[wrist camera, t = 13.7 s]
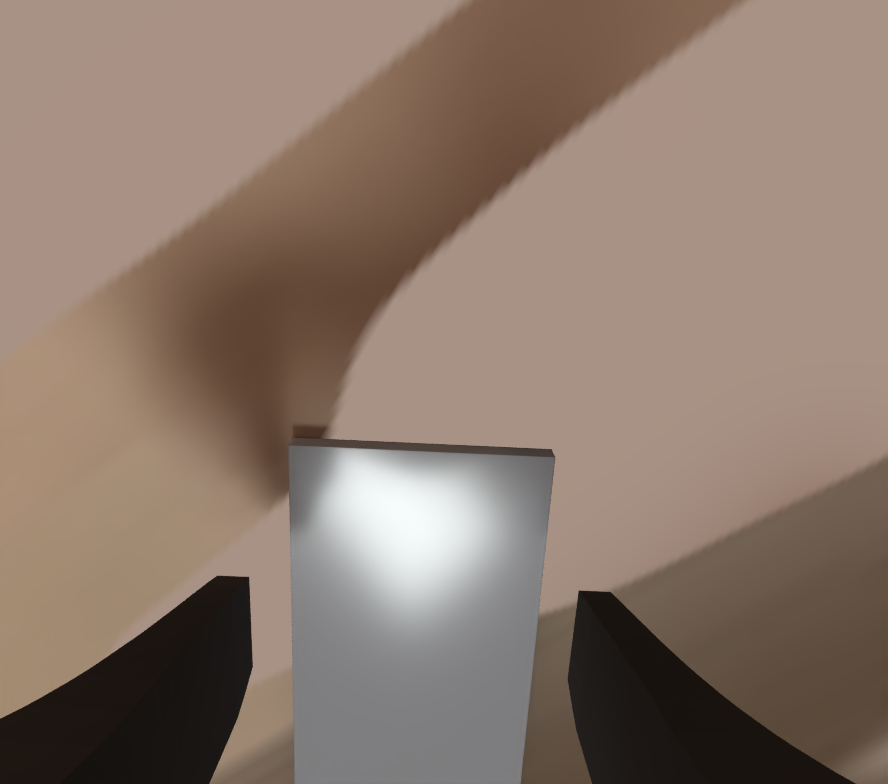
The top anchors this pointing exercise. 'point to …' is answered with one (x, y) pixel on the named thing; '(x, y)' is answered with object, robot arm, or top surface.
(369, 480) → the slate pad
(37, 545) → the top surface
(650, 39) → the top surface
